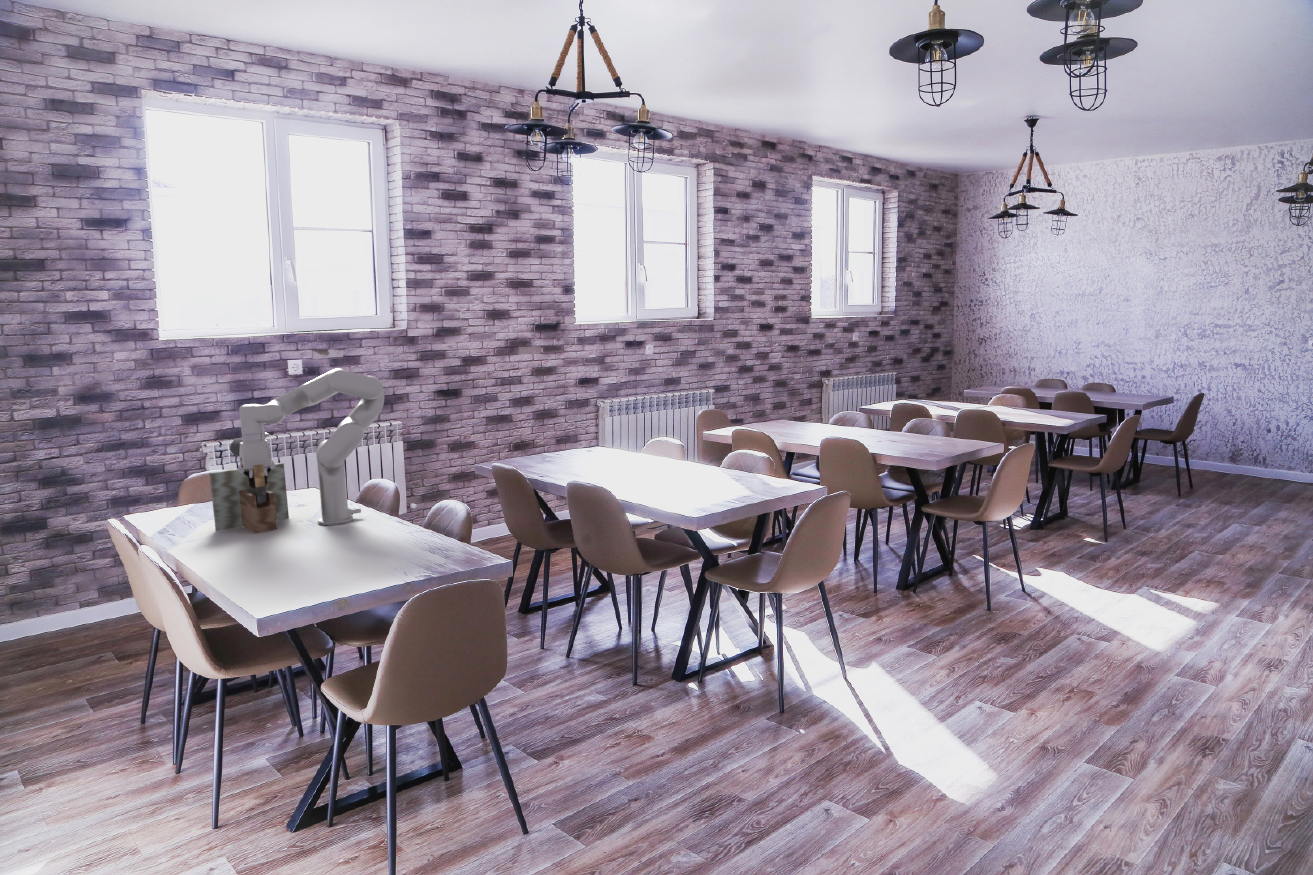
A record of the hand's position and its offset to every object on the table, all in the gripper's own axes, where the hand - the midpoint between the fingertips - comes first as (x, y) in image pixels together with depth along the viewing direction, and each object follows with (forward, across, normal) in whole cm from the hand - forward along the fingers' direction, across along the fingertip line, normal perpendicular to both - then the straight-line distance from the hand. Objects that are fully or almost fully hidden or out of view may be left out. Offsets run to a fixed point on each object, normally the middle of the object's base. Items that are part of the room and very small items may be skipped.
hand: (258, 486), depth 314 cm
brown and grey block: (+6, 0, 0) cm, 6 cm away
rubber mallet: (+17, -6, -33) cm, 37 cm away
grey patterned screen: (+16, 0, -3) cm, 17 cm away
